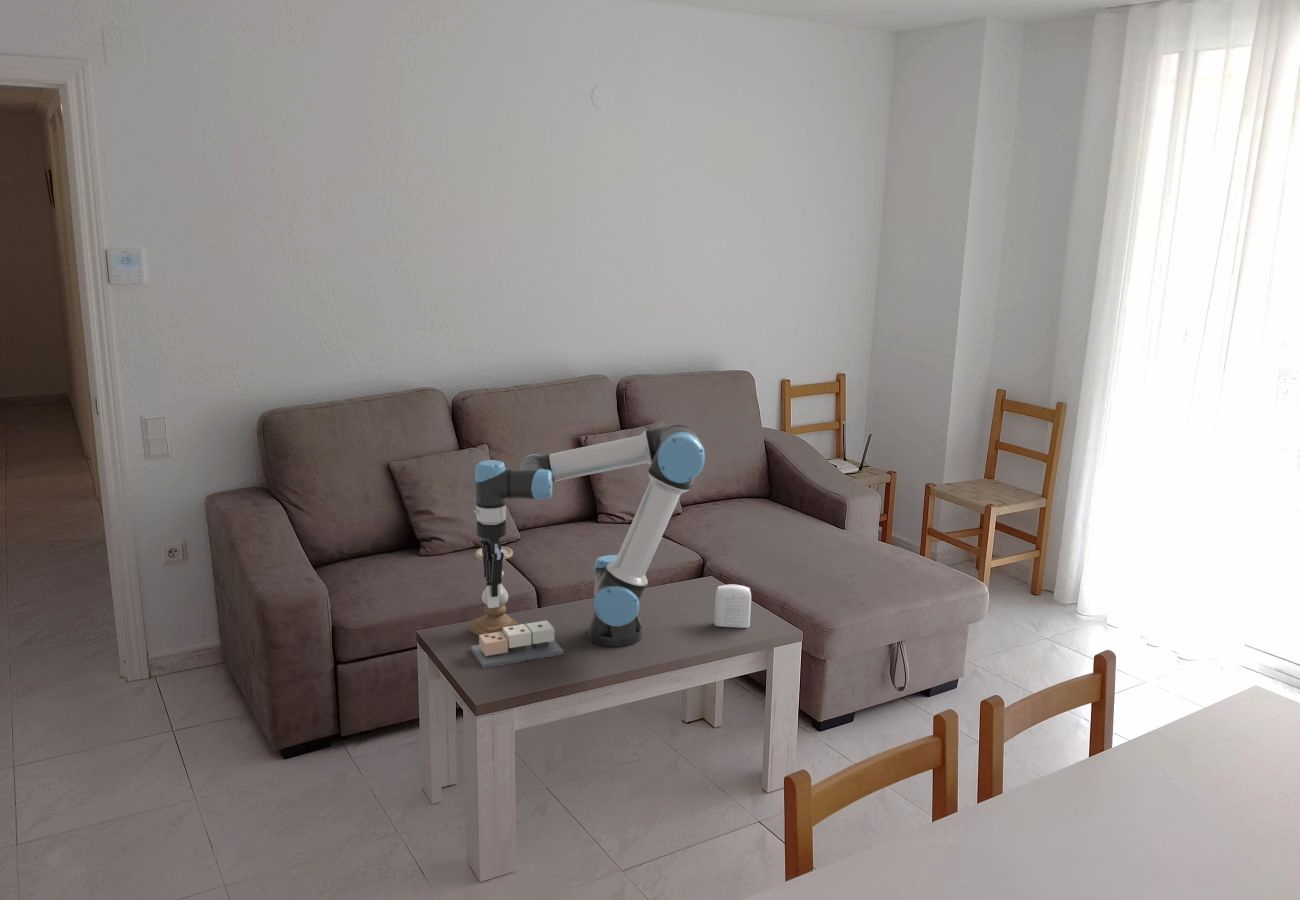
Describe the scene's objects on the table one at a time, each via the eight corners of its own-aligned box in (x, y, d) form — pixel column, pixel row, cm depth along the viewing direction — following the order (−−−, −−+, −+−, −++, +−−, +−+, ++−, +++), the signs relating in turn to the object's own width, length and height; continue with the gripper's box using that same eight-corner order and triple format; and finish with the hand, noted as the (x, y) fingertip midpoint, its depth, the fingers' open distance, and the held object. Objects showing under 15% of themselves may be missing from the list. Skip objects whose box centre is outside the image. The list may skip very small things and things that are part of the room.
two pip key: (524, 636, 277) (524, 623, 276) (531, 644, 271) (531, 631, 271) (502, 639, 274) (502, 626, 273) (509, 648, 269) (509, 635, 268)
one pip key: (547, 632, 279) (547, 619, 279) (554, 640, 274) (554, 627, 273) (526, 635, 277) (525, 622, 276) (533, 644, 272) (532, 631, 271)
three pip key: (501, 643, 274) (500, 630, 273) (507, 652, 269) (507, 639, 268) (479, 647, 272) (479, 634, 271) (485, 656, 267) (485, 642, 266)
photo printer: (749, 623, 296) (751, 583, 293) (750, 629, 292) (751, 588, 289) (714, 621, 296) (715, 581, 294) (714, 627, 292) (715, 587, 289)
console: (548, 637, 283) (548, 624, 282) (563, 654, 273) (563, 641, 272) (471, 650, 274) (470, 637, 273) (483, 668, 264) (483, 654, 263)
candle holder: (468, 630, 287) (466, 549, 282) (503, 621, 294) (501, 542, 288) (488, 643, 279) (486, 560, 273) (522, 634, 285) (521, 553, 280)
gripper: (470, 515, 266) (472, 600, 272) (484, 529, 255) (486, 617, 260) (498, 512, 269) (500, 596, 275) (512, 526, 258) (514, 613, 263)
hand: (493, 606), depth 268 cm, fingers closed
